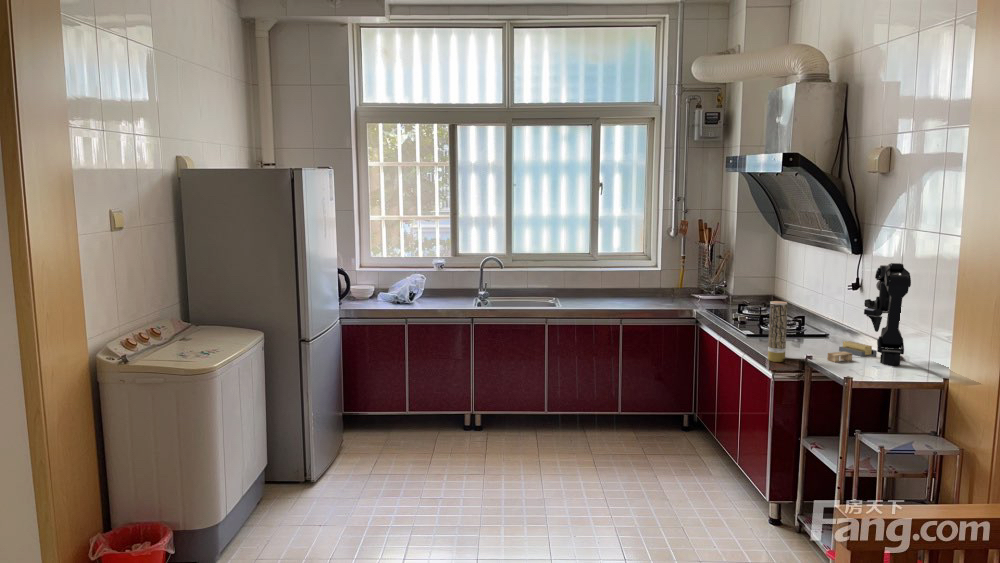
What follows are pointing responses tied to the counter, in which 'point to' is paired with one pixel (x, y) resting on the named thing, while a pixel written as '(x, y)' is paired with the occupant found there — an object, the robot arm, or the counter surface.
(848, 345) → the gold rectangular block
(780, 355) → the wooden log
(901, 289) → the robot arm
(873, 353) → the grey u channel block
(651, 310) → the counter surface
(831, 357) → the light wood notched block
